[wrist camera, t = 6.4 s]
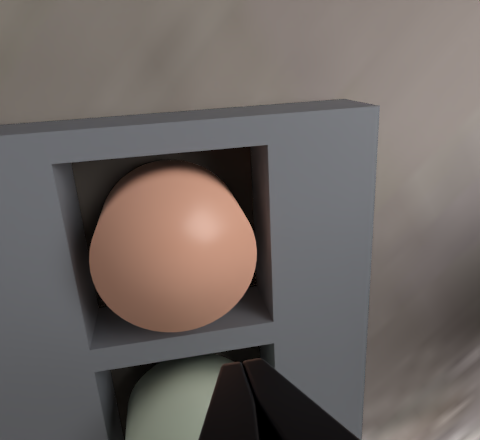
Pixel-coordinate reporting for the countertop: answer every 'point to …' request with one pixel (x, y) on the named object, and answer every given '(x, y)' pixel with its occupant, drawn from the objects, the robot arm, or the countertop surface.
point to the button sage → (173, 398)
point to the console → (233, 322)
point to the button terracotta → (172, 248)
